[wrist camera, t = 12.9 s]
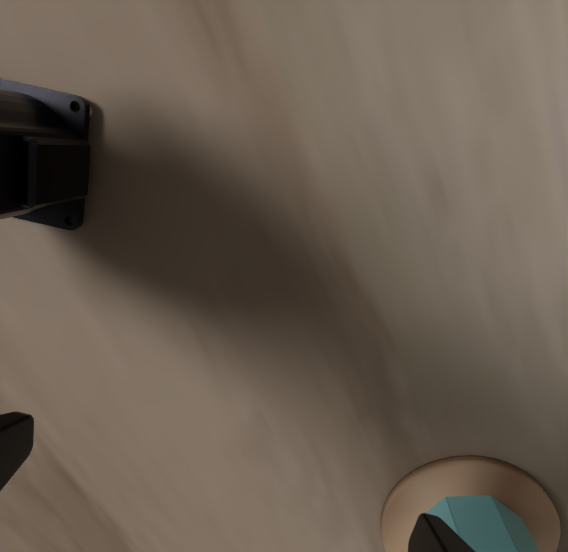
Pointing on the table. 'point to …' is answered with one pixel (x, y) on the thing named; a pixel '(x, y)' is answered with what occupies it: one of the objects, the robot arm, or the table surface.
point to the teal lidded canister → (485, 524)
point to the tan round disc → (468, 482)
